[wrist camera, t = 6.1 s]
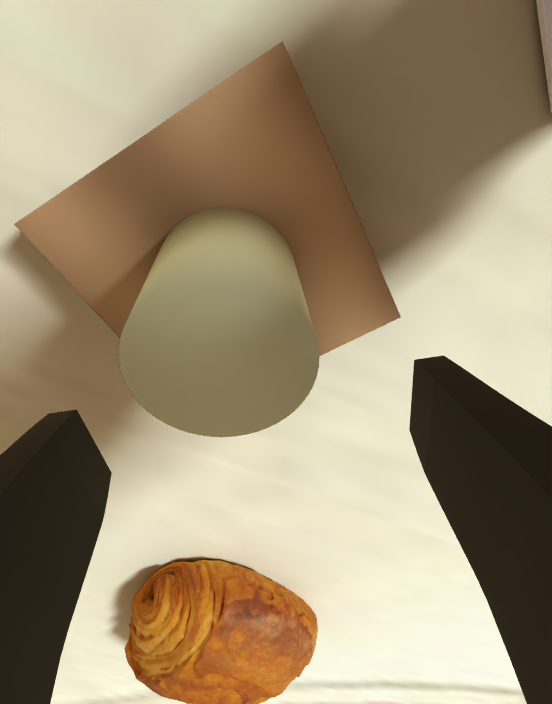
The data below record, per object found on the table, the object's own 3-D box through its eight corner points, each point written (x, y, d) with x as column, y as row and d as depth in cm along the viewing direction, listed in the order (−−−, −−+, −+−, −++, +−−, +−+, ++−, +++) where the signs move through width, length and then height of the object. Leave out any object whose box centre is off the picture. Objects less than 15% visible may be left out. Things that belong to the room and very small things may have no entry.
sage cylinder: (281, 191, 13) (301, 251, 9) (306, 321, 16) (331, 417, 12) (134, 226, 14) (81, 301, 9) (184, 347, 16) (162, 451, 12)
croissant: (225, 501, 30) (209, 610, 23) (342, 603, 36) (359, 717, 29) (95, 579, 34) (48, 692, 27) (219, 660, 40) (207, 772, 33)
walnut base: (275, 47, 14) (282, 41, 11) (379, 285, 19) (400, 317, 16) (50, 201, 16) (14, 224, 13) (198, 376, 21) (192, 416, 19)
